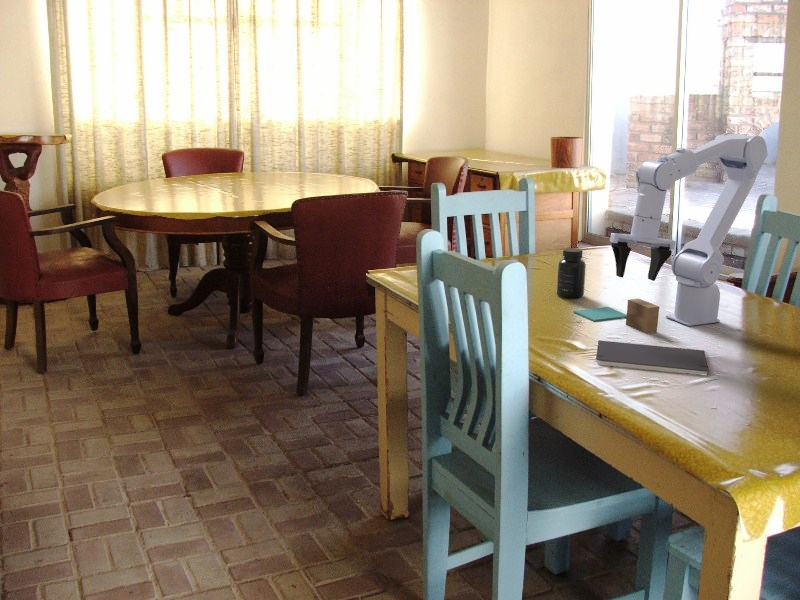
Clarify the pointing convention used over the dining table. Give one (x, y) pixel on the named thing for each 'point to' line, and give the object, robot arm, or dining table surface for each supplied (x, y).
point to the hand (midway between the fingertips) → (635, 278)
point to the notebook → (652, 357)
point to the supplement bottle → (571, 274)
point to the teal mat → (600, 314)
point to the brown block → (642, 315)
